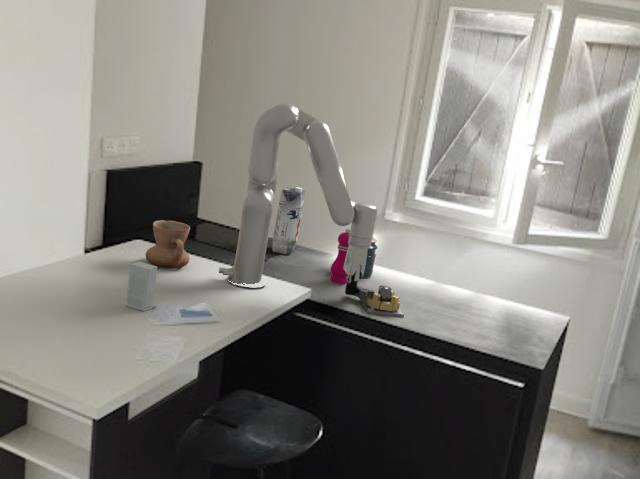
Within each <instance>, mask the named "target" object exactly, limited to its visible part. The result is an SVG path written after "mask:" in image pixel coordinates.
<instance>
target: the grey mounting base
mask: <svg viewBox="0 0 640 479" xmlns="http://www.w3.org/2000/svg"><path fill="white" fill-rule="evenodd" d="M391 290H392V288H391V287H390V286H388V285H384V284H383V285H379V287H378V292H377V293H378V294H380V295H381V298H380V301H384V302H389V298H390V293H391ZM359 303H360V305H361V306H362V307H363V308H364V310H365V311H366V312H367V314H371V315H380V316H381V315H382V316H387V317H388V316H390V317H398V318H404V316H405V314H404V312H403V311H402V309H400V308H399V309H398V310H394V311H388V310H380V309H377V308H374V307H372V306H369V305H367V303H366V302H365V300H362V299H360V298H359Z"/></svg>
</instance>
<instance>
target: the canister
mask: <svg viewBox="0 0 640 479" xmlns="http://www.w3.org/2000/svg"><path fill="white" fill-rule="evenodd" d="M376 243H377V239H375V237H374V236H373V237H372V242H371V247H370V248H369V249H368V250H367V258H366V265H365V270H364V274H363V277H360V276H359V279H361V278H362V279H368V278H367V277H369V278H371V277H372V275H373V271H374V265H375V260H376V257H377V255H376V251H377V250H378V245H377V244H376ZM370 276H371V277H370Z"/></svg>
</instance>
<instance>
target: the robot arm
mask: <svg viewBox="0 0 640 479" xmlns="http://www.w3.org/2000/svg"><path fill="white" fill-rule="evenodd" d="M285 132H287V133H289V134H291V135H293V136H294V137H296V138H297V139H300V140H302V141H304V142H305V146H306V149H307V151H308V153H309V157H310V160H311V163H312V167H313V170H314V172H315V175H316V179H317V182H318V183H319V186H320V187H321V190H322V193H323V196H324V199H325V202H326V205H327V208H328V210H329V214H330V217H331V219H332V222H333V223H334V224H336V225H337V226H340V227H346V226H349V225H350V235H349V240H348V244H349V247H348V250H347V254H346V258H345V263H344V270H345V272H346V273H347V274H348V276H347V277H346V278H347V283H346V284H345V285H346V286H345V291H344V294H345V295H347V296H354V295H355V293H356V288H357V286H358V283H359V281H360V278H359V276H360V277H363V274H364V270H365V265H366V258H367V250H368V249H369V248H370V247H371V242H372V237H374V230H375V226H376V220H377V214H378V208H377V207H376V206H375V205H373V204H369V203H364V202H363V203H362V202H356V201H353V200H351V197H350V194H349V190H348V188H347V184H346V180H345V177H344V171H343V168H342V164H341V161H340V158H339V155H338V152H337V149H336V146H335V143H334V139H333V137H332V133H331V131H330V128H329V126H328V124H326V123H325V122H324V121H323V120H320V119H318V118H316V117H315V116H313V115H311V114H309V113H307V112H305V111H304V110H302V109H300V108H298V107H297V106H295V105H294V104H292V103H288V102H283V103H280V104H277V105H274V106H273V107H272V106H271V107H270V108H269V109H267V110H266V111H264V112H263V113H262V114H261V115H260V116H259V117H258V119H257V121H256V123H255V125H254V129H253V135H252V142H251V146H250V147H251V150H250V157H249V163H248V167H247V171H248V172H247V174H248V183H247V192H246V196H245V198H244V200H243V203H242V210H241V217H240V226H239V230H238V231H239V232H238V239H237V245H236V252H235V258H234V264H233V265H232V266H231V267H229V268H227V267H219V268H218V273H219V274H222V275H223V276H227V278H226V280H227V279H228V280H229V281H231V282H233V283H237V284H241V283H242V284H243V283H246V284H255V283H259V282H260V281H261V279H262V277H263V276H262V275H263V271H264V266H265V258H266V253H267V246H268V241H269V235H270V234H269V233H270V228H271V223H272V217H273V212H274V208H275V207H274V206H275V202H276V192H277V185H278V176H279V175H278V173H279V163H278V154H279V149H280V148H279V147H280V139H281V136H282V134H283V133H285ZM243 285H245V284H243ZM354 297H355V296H354Z"/></svg>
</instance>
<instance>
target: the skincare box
mask: <svg viewBox="0 0 640 479" xmlns="http://www.w3.org/2000/svg"><path fill="white" fill-rule="evenodd" d="M129 268H130V271H129V276H128V277H129V278H128V287H127V293H126V302H125V306H126V307H128V308H132V309H135V310H139V311H142V312H146V311H149V310H150V309H153V308H154V307H153V305H154V298H155V297H154V296H155V289H156V282H157V274H158V266H155V265H153V264H150V263H149V264H148V263H145V262H142V261H138V262H134V263H131V264H130V266H129Z"/></svg>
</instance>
